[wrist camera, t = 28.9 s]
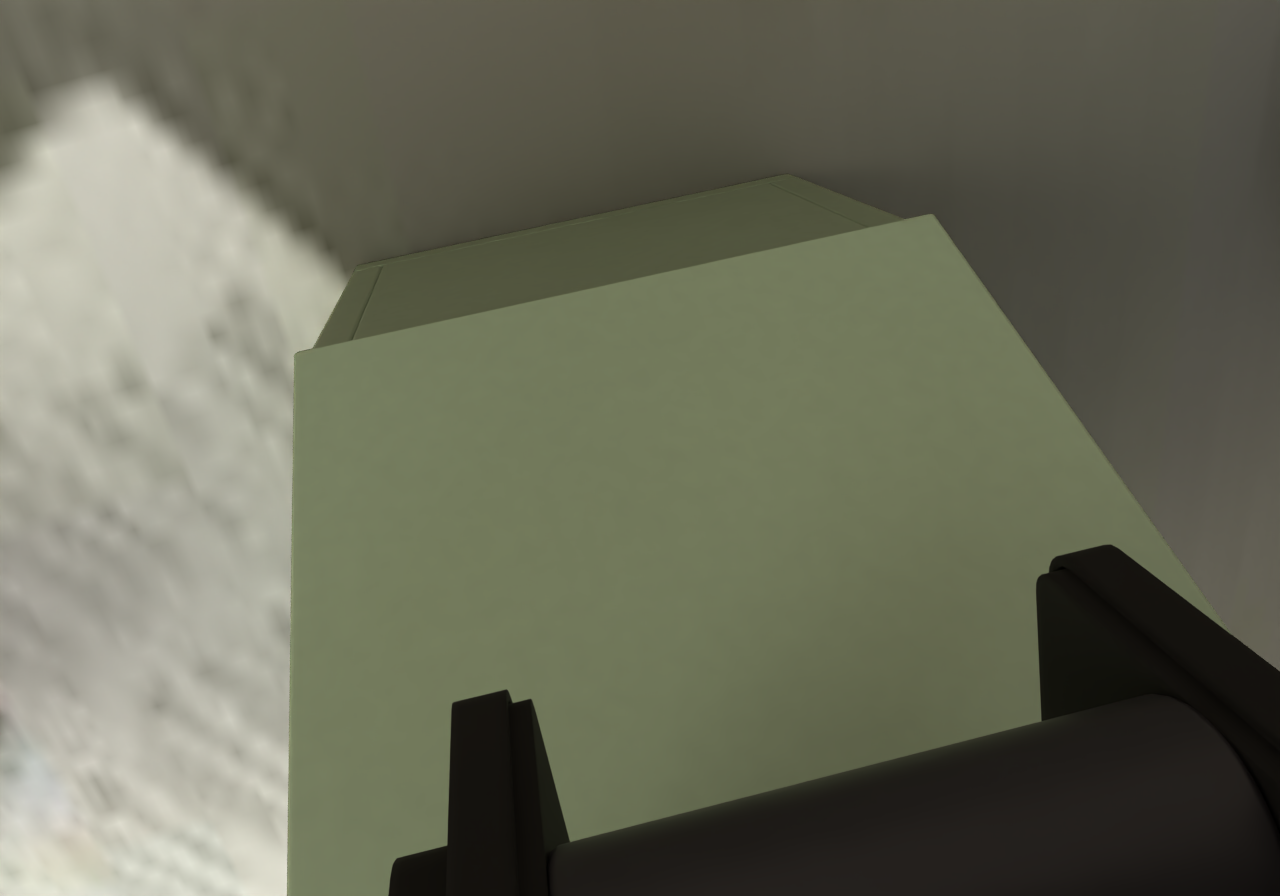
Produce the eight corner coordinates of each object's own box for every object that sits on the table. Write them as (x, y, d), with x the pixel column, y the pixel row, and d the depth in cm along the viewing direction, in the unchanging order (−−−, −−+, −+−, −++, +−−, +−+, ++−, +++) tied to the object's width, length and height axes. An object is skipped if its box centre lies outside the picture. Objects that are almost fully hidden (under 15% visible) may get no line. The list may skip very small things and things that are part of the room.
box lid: (1532, 1131, 10) (2040, 958, 6) (307, 1492, 9) (-68, 1580, 5) (929, 245, 20) (967, -49, 16) (307, 382, 19) (178, 108, 15)
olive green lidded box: (844, 607, 34) (968, 793, 26) (481, 695, 33) (483, 919, 25) (788, 173, 29) (922, 224, 20) (355, 265, 28) (303, 360, 19)
